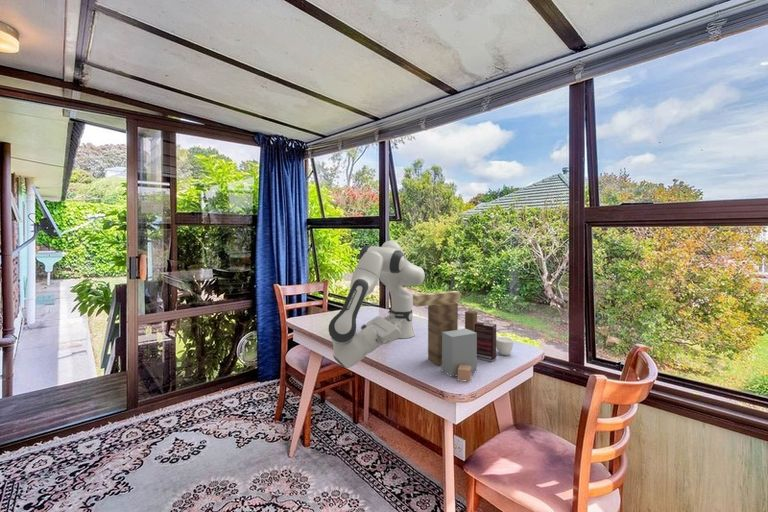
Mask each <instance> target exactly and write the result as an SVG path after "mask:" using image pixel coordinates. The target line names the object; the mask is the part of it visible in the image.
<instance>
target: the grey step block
mask: <svg viewBox="0 0 768 512" xmlns="http://www.w3.org/2000/svg"><path fill="white" fill-rule="evenodd" d="M477 359H478V358H477V333H476V332H473V331H471V330H468V329H465V328H461V329H458V330H453V331H446V332H442V365H441V371H442V370H443V371H442V372H444V373H445V372H446V373H445V374H447V373H448V374H449V376H450V375H451V376H454V377H457V376H456V375H458V367H459V365H466V366H471V372H472V373H476V372H477V363H478V362H477V361H478V360H477ZM475 371H476V372H475ZM448 374H447V375H448ZM451 376H450V377H451Z"/></svg>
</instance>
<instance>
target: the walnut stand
mask: <svg viewBox="0 0 768 512" xmlns="http://www.w3.org/2000/svg"><path fill="white" fill-rule="evenodd" d="M458 303H459V302H455V303H446V304H437V305H428V306H427V307H428V308H427V311H428V312H427V352H428V353H427V359H428V361H429V362H431V363H433V364H434V365H436V366H437V365H438V367H439V366H442V332H446V331H453V330H459V329H458V326H459V325H458V324H459V323H458V322H459V321H458V318H459V317H458V316H459V313H458V310H459V304H458Z"/></svg>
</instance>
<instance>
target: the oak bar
mask: <svg viewBox="0 0 768 512" xmlns="http://www.w3.org/2000/svg"><path fill="white" fill-rule="evenodd" d="M460 302H461V291H458V290H449V291H437V292H427V293H415V294H412V306H414V307H416V308H417V307H426V306H427V307H428V305H437V304H446V303H460Z"/></svg>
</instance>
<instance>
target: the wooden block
mask: <svg viewBox="0 0 768 512" xmlns="http://www.w3.org/2000/svg"><path fill="white" fill-rule="evenodd" d="M477 322H478V311H477V310H466V311H465V312H464V329H468V330H471V331H473V332H475V323H477Z"/></svg>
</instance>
